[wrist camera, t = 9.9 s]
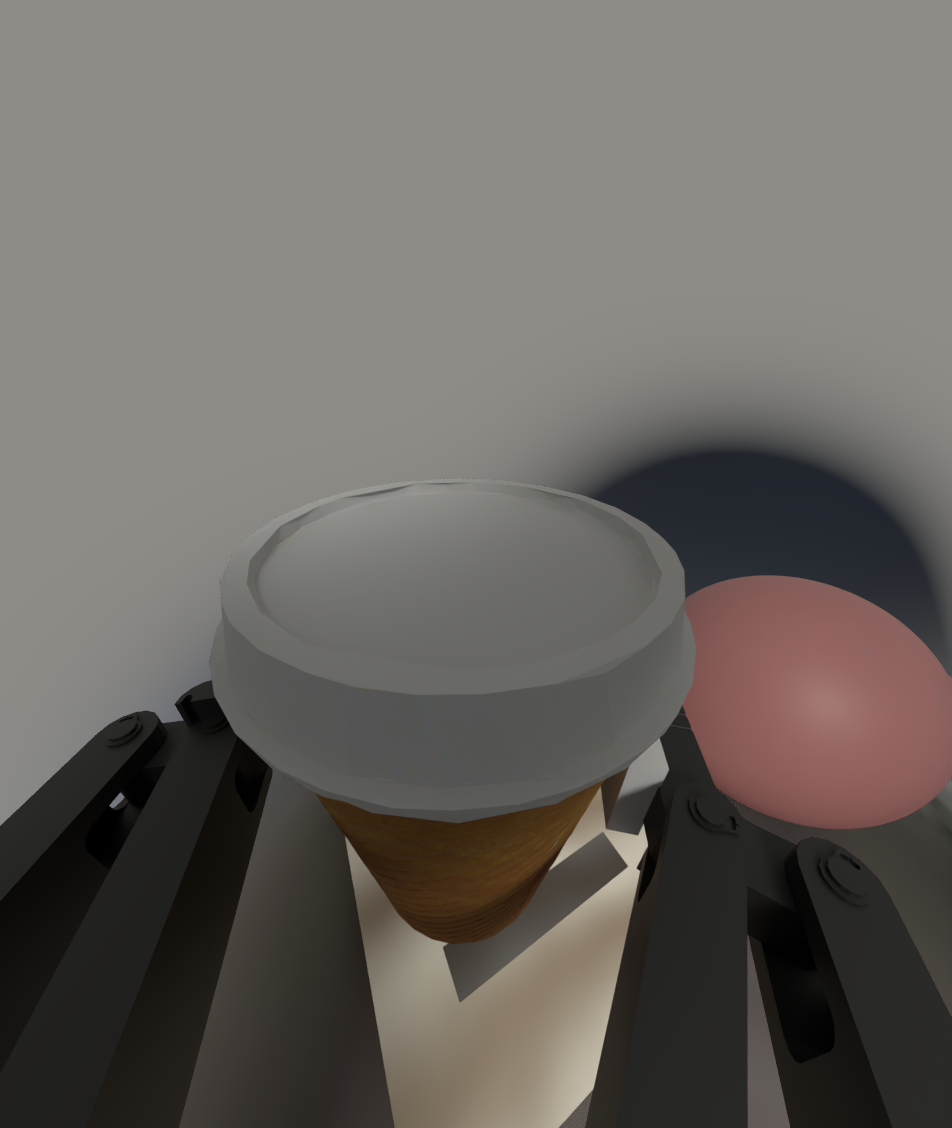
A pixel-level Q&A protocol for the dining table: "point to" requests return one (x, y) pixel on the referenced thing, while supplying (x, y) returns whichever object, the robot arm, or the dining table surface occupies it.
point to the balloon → (816, 703)
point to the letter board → (504, 992)
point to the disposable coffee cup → (453, 677)
